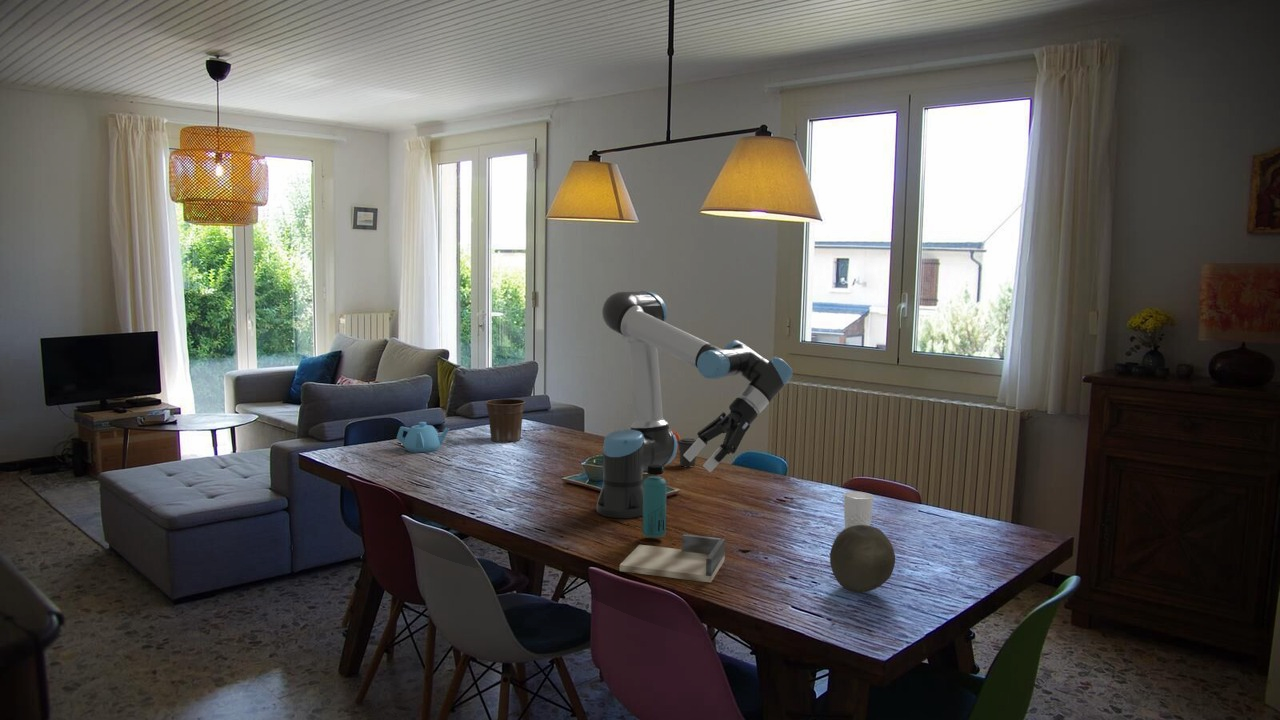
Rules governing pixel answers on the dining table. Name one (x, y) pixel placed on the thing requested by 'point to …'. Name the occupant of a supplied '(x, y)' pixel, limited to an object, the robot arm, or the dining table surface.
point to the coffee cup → (683, 447)
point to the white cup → (857, 508)
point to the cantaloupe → (862, 558)
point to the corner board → (679, 559)
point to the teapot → (421, 438)
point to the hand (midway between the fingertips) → (696, 463)
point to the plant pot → (505, 419)
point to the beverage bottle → (654, 503)
